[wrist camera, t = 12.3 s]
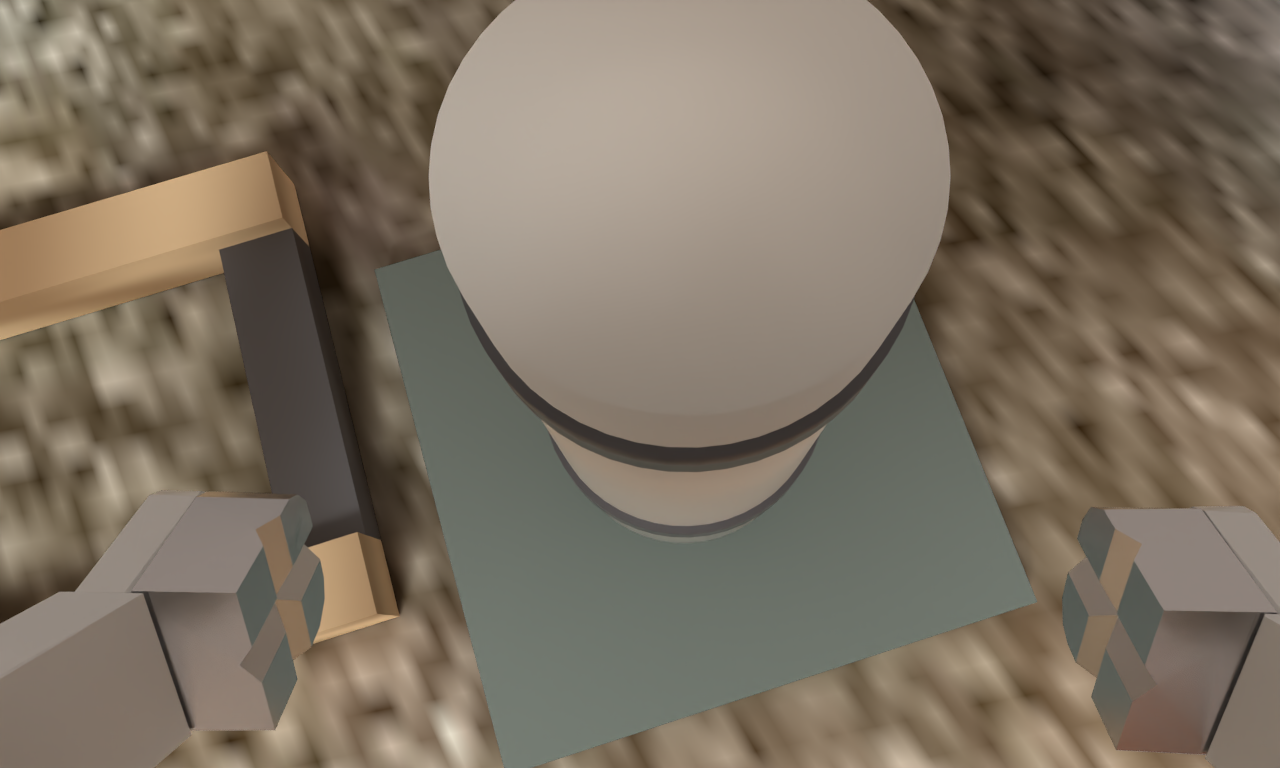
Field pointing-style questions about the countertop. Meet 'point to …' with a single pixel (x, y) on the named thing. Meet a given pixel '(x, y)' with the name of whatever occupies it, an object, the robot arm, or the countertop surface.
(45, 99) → the countertop surface
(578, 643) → the mat
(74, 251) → the cradle
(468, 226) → the white cylinder
